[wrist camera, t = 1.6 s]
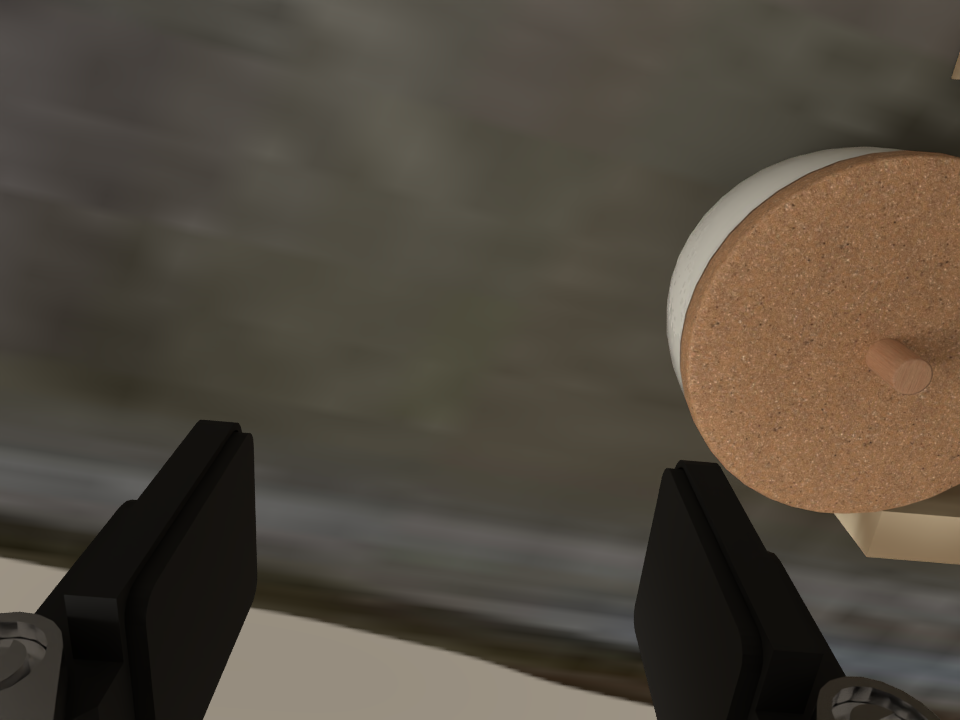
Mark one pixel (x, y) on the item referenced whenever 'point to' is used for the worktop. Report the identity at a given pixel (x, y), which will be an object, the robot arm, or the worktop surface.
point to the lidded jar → (827, 329)
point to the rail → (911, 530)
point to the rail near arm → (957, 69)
